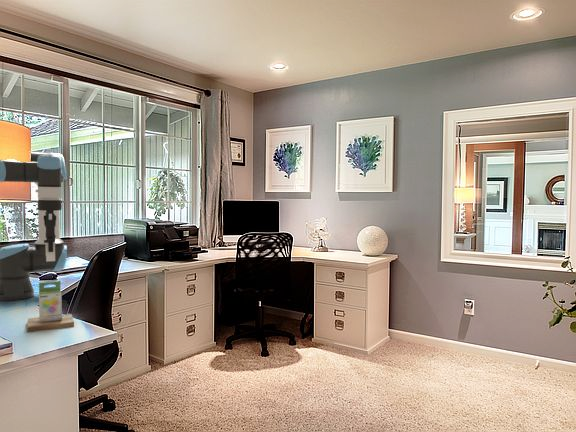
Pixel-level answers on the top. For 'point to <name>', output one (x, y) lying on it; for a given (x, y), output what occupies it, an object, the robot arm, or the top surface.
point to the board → (50, 323)
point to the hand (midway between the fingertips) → (50, 258)
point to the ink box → (50, 302)
